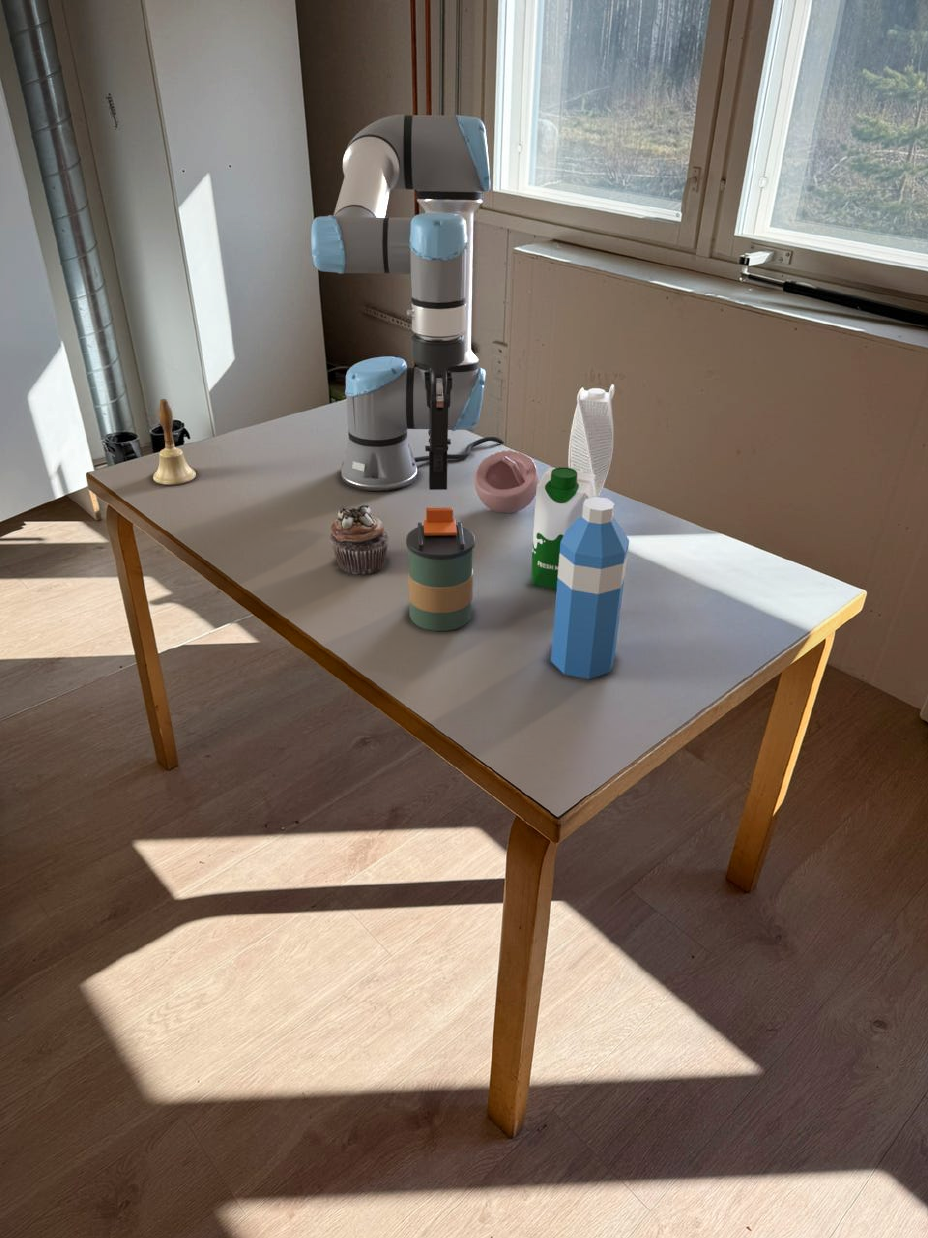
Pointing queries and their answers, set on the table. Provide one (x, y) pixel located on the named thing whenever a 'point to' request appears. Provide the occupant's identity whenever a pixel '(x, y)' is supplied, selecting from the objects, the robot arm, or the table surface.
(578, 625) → the water bottle
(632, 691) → the table surface
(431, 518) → the slider
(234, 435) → the table surface
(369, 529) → the cupcake
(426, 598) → the travel mug
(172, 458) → the hand bell
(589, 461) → the skyscraper
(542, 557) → the milk carton
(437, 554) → the mug lid
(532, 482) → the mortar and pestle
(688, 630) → the table surface
